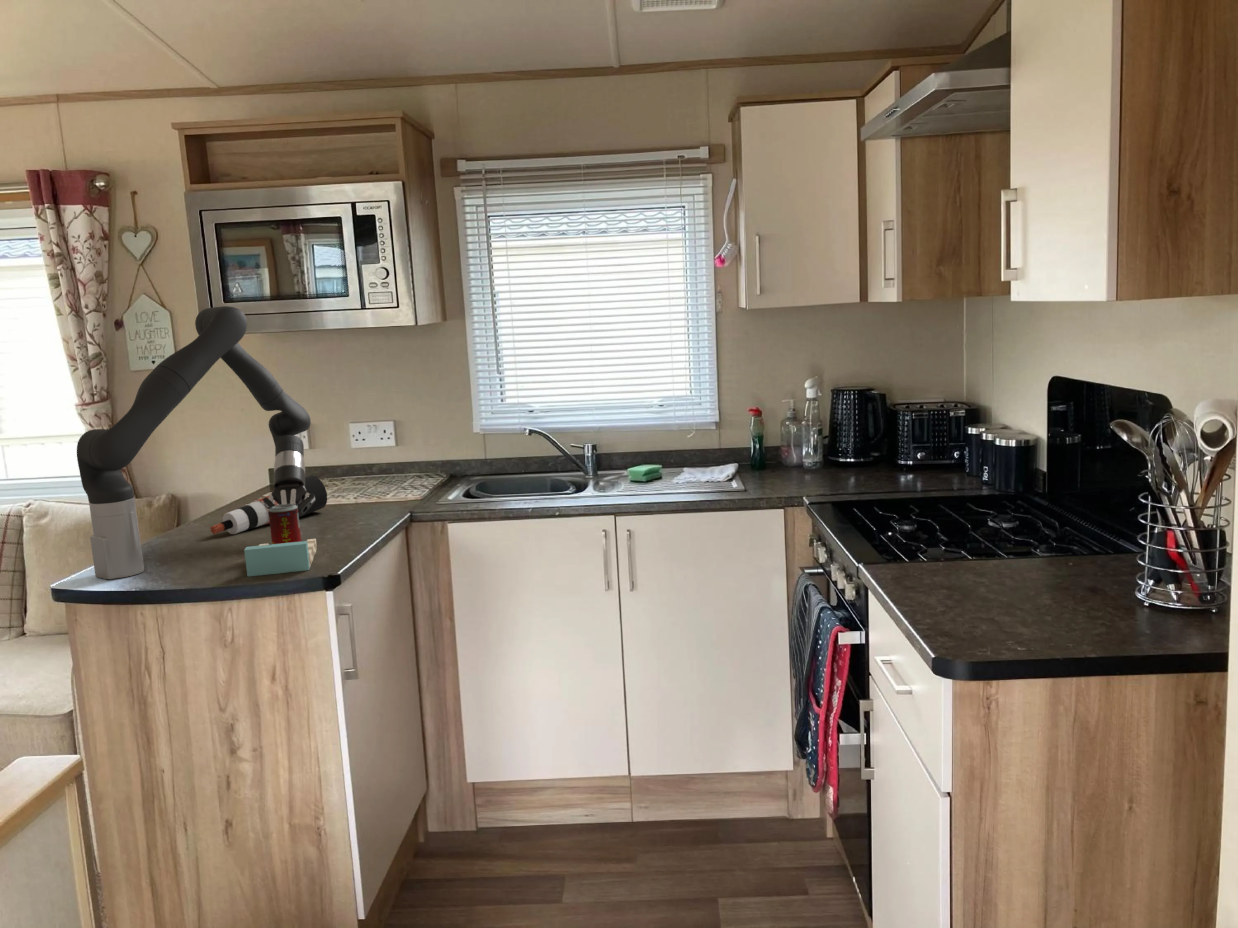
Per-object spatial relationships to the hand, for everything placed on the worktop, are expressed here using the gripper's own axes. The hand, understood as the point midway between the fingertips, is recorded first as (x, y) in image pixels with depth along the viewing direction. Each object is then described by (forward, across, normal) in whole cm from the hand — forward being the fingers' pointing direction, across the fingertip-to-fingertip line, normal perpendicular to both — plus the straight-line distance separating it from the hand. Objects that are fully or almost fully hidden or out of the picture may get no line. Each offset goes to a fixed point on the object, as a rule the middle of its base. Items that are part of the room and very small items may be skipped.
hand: (289, 529), depth 243 cm
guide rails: (+13, 0, -7) cm, 15 cm away
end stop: (+21, 0, -14) cm, 25 cm away
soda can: (+8, 0, -2) cm, 9 cm away
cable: (-19, -9, +26) cm, 33 cm away
